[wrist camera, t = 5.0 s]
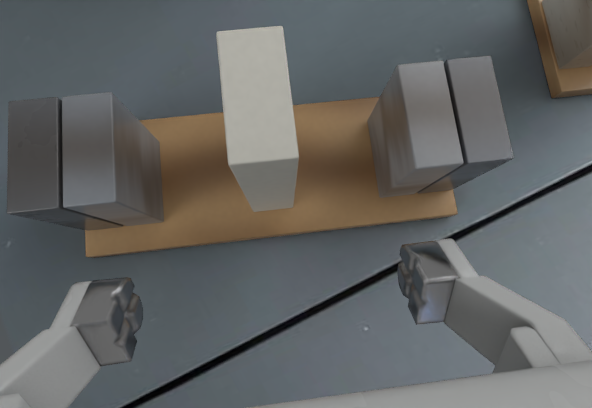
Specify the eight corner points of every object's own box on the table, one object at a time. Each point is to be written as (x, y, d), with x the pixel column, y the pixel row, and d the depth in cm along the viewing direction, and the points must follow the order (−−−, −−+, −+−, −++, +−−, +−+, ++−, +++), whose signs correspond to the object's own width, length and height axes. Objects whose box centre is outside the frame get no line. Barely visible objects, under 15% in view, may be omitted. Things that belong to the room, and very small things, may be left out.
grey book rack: (451, 216, 24) (525, 191, 16) (93, 257, 23) (1, 250, 15) (428, 97, 25) (487, 25, 18) (90, 131, 24) (4, 69, 17)
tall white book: (293, 207, 23) (299, 157, 13) (253, 212, 22) (227, 165, 13) (284, 128, 23) (282, 24, 14) (245, 132, 23) (215, 30, 14)
